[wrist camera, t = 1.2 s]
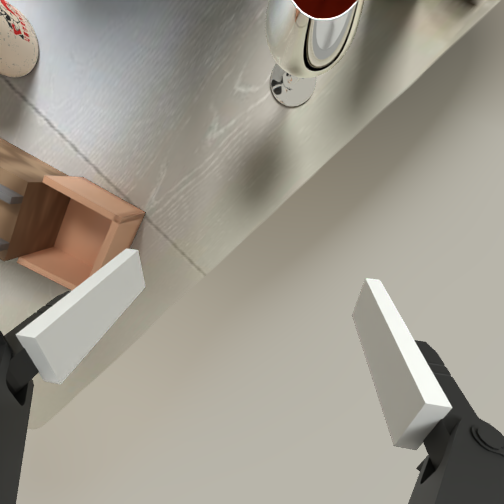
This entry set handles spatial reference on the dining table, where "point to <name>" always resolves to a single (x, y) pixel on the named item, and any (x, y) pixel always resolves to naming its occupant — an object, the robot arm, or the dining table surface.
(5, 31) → the teacup with lid
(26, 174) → the launcher
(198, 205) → the dining table surface
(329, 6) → the wineglass
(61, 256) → the cup
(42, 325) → the robot arm
